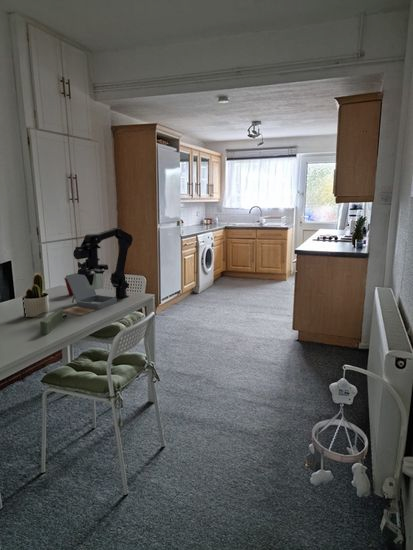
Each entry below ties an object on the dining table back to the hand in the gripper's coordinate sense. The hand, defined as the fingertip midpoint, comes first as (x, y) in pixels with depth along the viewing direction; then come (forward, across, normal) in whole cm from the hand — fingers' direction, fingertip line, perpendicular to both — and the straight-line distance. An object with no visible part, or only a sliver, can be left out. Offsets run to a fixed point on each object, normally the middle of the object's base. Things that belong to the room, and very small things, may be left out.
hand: (94, 284), depth 210 cm
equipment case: (+12, -1, -3) cm, 13 cm away
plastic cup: (+12, -12, -29) cm, 34 cm away
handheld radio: (+13, +35, +7) cm, 38 cm away
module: (+2, 0, 0) cm, 2 cm away
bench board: (+12, +13, 0) cm, 18 cm away
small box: (+13, +27, -17) cm, 34 cm away
